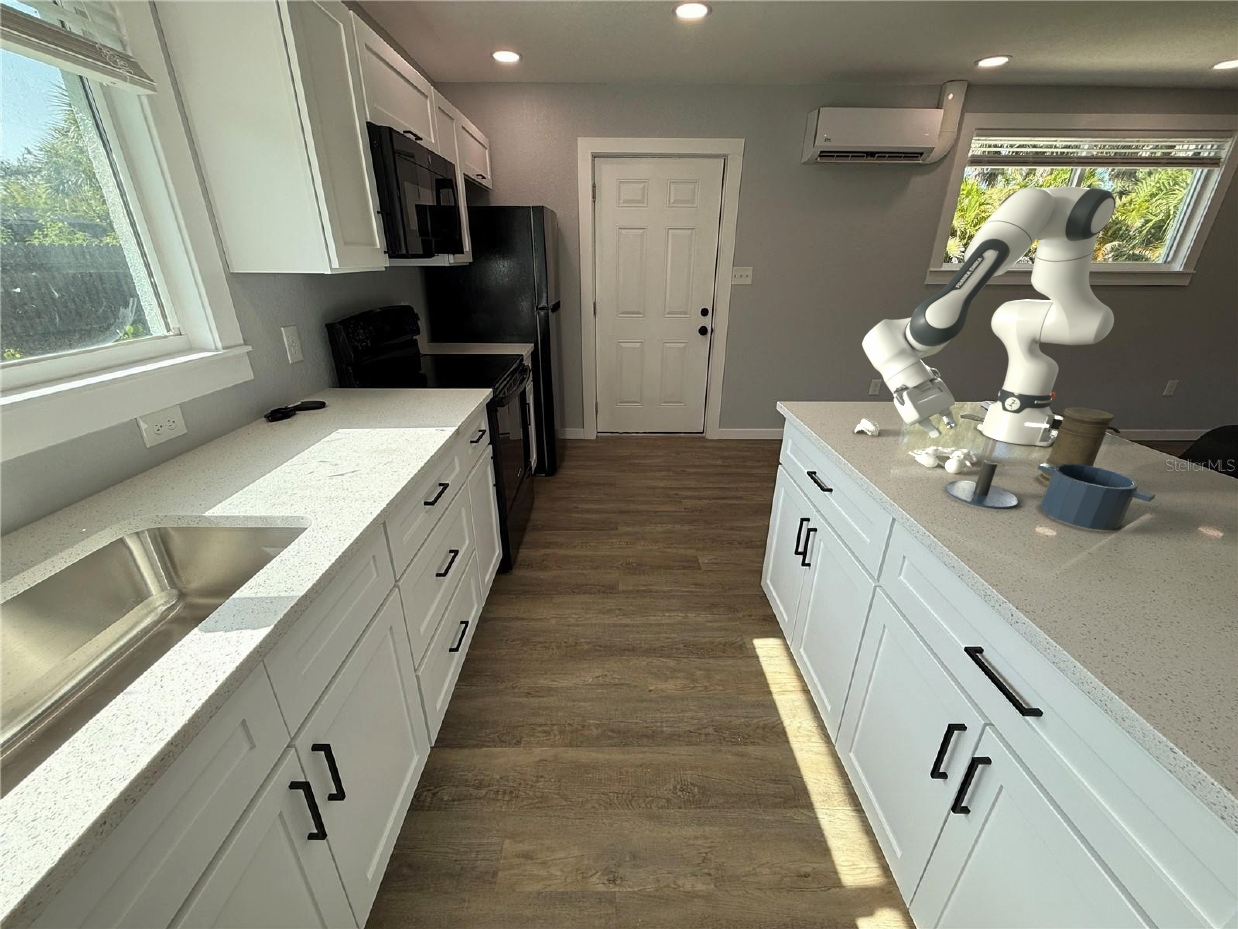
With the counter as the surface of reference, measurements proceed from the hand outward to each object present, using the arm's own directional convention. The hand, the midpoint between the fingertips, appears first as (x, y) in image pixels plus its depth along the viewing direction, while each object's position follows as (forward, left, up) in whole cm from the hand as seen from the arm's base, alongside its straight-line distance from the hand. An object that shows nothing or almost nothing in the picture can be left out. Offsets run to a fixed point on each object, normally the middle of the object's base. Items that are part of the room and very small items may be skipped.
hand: (945, 431), depth 113 cm
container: (-26, +16, -13) cm, 33 cm away
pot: (-10, +25, -13) cm, 30 cm away
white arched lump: (-19, -31, -13) cm, 39 cm away
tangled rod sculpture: (-15, -6, -13) cm, 21 cm away
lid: (-2, +10, -12) cm, 16 cm away
